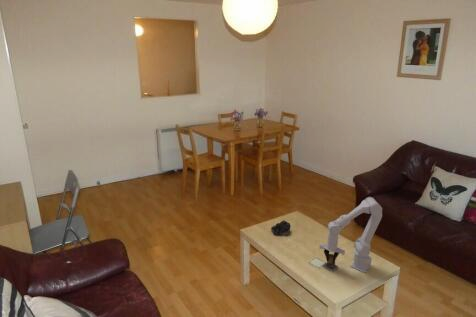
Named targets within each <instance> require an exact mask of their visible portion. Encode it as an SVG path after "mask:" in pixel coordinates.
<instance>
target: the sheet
mask: <svg viewBox="0 0 476 317" xmlns="http://www.w3.org/2000/svg"><path fill="white" fill-rule="evenodd" d="M306 263H307V264H308V265H310V266H313V267H314V268H316V269H318V270H321V269H322V268H324V267H323V265H324V264H325V263H327V261H325V260H323V259H321V258H319V257H317V256H314V257H313V258H311V259H310V260H309V261H307V262H306Z"/></svg>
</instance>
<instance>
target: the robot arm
mask: <svg viewBox="0 0 476 317" xmlns="http://www.w3.org/2000/svg"><path fill="white" fill-rule="evenodd" d="M363 213H364V214H370V217H369V219H368V221H367V224H366V226H365V228H364V230H363V232H362V234H361V236H360V237H358V238H357V239H356V240H355V242H354V243H353V248H354V256H353V263H352V264H350V267H351V268H354V269H355V270H357V271H360V272H362V273H364V274H366V273H367V272H368V271H369V270H370V269H371V268H372V257H371V256H369V255H370V253H371V252H370V250H371V241H372V239H373V237H374V235H375V232H376V231H377V229H378V226H379V224H380V222H381V221H382V218H383V207H382V206H381V205H380V203H378V202H377V201H376V199H375V198H374V197H372V196H368V197H366V198H365V199H363V200H362V201H361V203H360V204H359V205H358V206H356V207H355V208H354V209H353V210H351V211H350V212H348V213H347V214H342V215H340V217H338V218H337V219H335V220H333V221H330V222H329V223H328V224H327V225H326V226H327V229H328V234H327V241H326V242H327V244H321V243H320V244H319V246H318V247H319V249H320V250H321V249H323V253H324V254H323V255H324V256H325V259H326V262H327V261H328V257H329V254H330V253H331V252H332V253H333V255H334V260H333V263H335V264H336V260H337V258H338V256H339V255H340V254H342V255H345V252H346V250H345V249H342V248H340V247H338V244H339V234H340V233H341V231H342V229H344V228H345V227H346V226H348V225H350V224H351V221H352V220H353V219H355V218H357V217H358V216H359V215H361V214H363Z"/></svg>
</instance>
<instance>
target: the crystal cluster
mask: <svg viewBox="0 0 476 317" xmlns="http://www.w3.org/2000/svg"><path fill="white" fill-rule="evenodd" d="M291 227H292V226H291V223H289V222H288V221H287V220H284V219H283V220H281V221H280V222H277V223H276V224H274V225H272V226H271V228H270V229H271V230H270V231H271V232H272V234H273V235H276V236H279V237H285V236H287V235H288V234H289V233H290V231H291Z"/></svg>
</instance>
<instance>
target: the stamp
mask: <svg viewBox="0 0 476 317" xmlns="http://www.w3.org/2000/svg"><path fill="white" fill-rule="evenodd" d="M333 260H334V253H329V257H328V261H327V260H326V262H327V264H326V267H330V268H334V266H335V265H336V262H335V263H333Z"/></svg>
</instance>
